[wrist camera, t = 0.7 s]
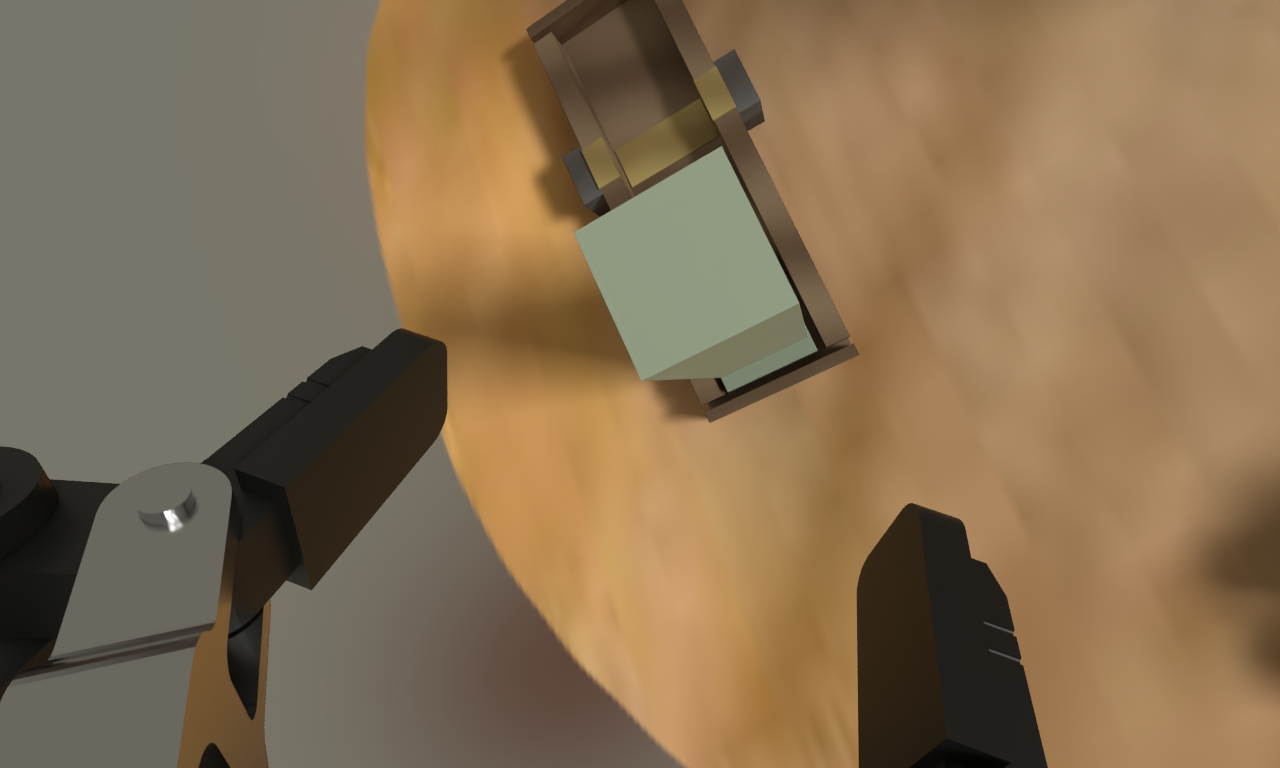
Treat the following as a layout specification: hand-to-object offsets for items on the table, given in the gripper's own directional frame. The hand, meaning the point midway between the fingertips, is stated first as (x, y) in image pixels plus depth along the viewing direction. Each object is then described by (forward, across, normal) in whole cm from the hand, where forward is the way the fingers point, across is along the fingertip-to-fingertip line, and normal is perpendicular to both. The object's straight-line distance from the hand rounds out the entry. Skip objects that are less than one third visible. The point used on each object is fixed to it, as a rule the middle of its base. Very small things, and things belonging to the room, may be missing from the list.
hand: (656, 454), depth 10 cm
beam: (+26, +4, +5) cm, 27 cm away
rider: (+22, -2, +10) cm, 24 cm away
